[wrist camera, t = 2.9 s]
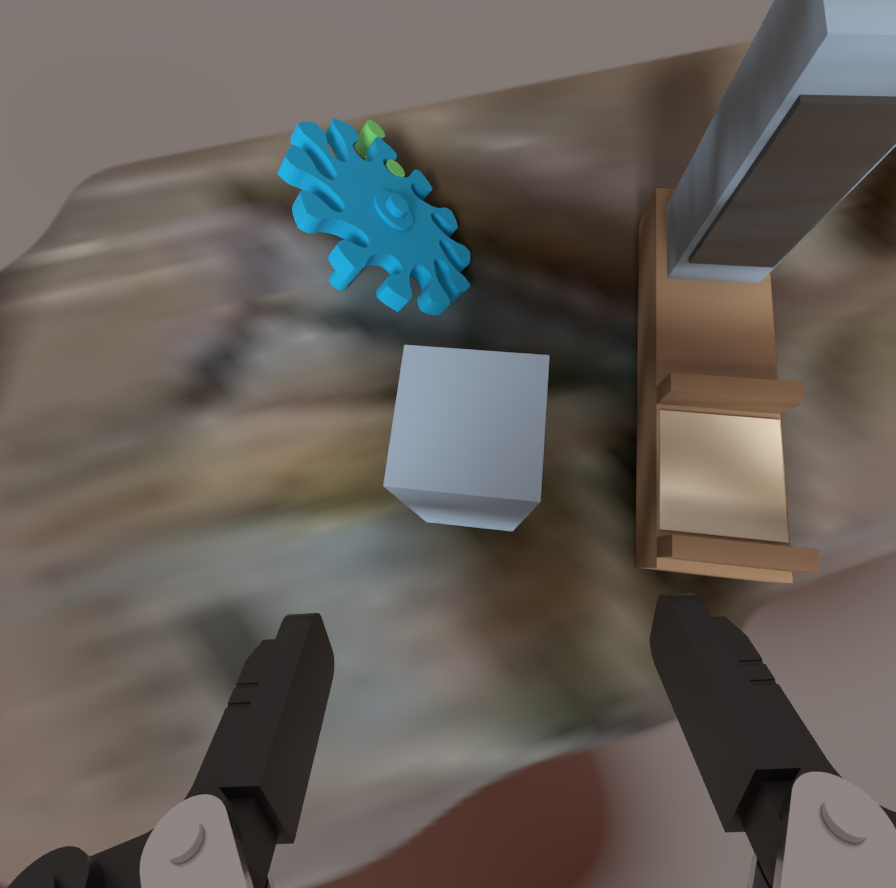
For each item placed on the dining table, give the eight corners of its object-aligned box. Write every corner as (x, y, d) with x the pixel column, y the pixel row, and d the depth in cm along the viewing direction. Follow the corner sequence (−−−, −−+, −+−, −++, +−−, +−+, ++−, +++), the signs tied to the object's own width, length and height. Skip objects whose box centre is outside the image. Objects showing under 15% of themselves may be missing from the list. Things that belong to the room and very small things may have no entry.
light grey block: (426, 522, 21) (383, 486, 12) (437, 434, 22) (405, 334, 13) (512, 531, 21) (540, 502, 11) (519, 441, 22) (550, 345, 12)
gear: (493, 328, 22) (290, 231, 16) (419, 385, 26) (233, 326, 20) (463, 172, 26) (295, 47, 20) (404, 241, 30) (247, 155, 24)
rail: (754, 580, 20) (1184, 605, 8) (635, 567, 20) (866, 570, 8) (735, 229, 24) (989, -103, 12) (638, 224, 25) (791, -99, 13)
